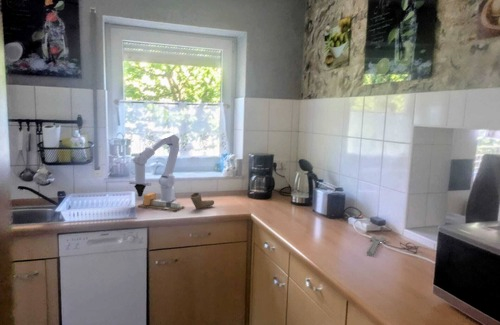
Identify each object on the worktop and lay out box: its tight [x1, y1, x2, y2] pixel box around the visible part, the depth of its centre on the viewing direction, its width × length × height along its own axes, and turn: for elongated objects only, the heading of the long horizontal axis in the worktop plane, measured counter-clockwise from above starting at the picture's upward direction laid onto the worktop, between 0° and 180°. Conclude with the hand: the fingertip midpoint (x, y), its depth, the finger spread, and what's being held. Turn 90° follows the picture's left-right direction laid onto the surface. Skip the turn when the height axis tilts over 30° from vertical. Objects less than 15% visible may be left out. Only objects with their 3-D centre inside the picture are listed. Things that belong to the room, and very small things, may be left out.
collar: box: [143, 192, 157, 205], centre depth 212 cm, size 3×8×6 cm, turn 161°
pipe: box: [189, 192, 215, 210], centre depth 211 cm, size 6×17×10 cm, turn 133°
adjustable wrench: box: [366, 236, 387, 257], centre depth 154 cm, size 25×6×2 cm, turn 146°
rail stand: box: [137, 198, 185, 213], centre depth 210 cm, size 26×10×4 cm, turn 71°
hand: (140, 196), depth 214 cm, fingers closed
